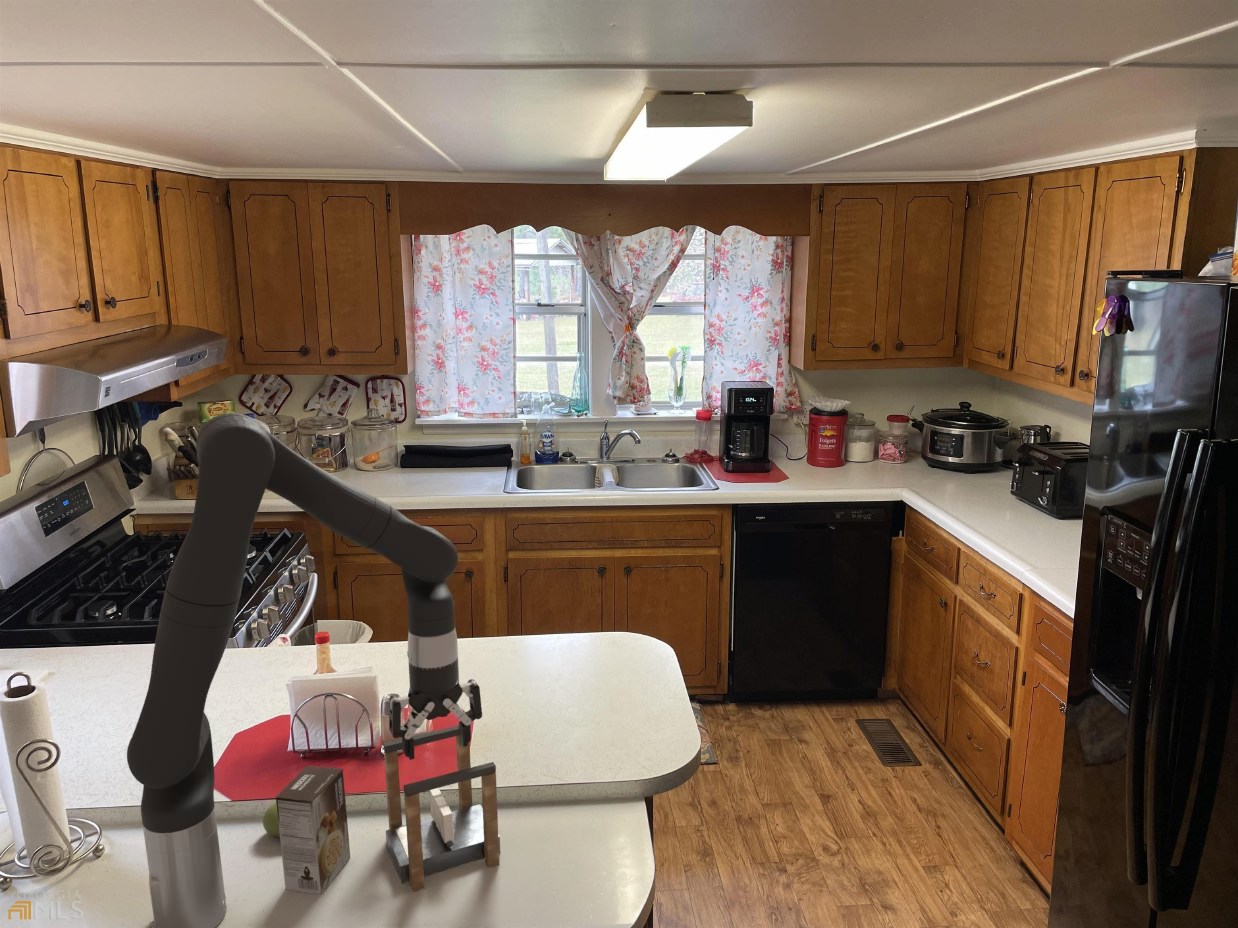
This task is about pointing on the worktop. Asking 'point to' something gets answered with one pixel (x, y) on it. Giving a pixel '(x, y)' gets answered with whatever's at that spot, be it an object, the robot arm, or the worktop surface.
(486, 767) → the grey crossbeam plank
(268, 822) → the green eggplant
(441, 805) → the bar
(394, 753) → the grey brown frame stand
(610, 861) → the worktop surface
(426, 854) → the breaker panel
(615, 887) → the worktop surface
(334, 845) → the coffee box
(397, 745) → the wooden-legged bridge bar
